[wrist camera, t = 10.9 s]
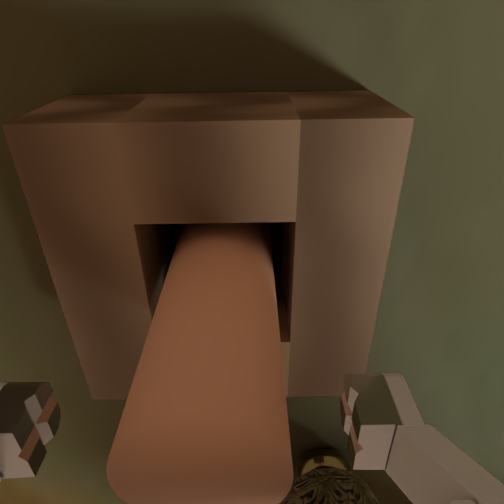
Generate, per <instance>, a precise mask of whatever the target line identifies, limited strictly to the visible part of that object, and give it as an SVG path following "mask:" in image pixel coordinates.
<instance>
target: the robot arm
mask: <svg viewBox="0 0 504 504" xmlns="http://www.w3.org/2000/svg"><path fill="white" fill-rule="evenodd" d="M343 388H344V393H343V394H342V395H341V400H340V412H341V420H342V425H343V429H344V431H345V432H346V433H347V434H348V435H349V437H348V444H347V447H348V451H349V455H350V459H351V463H352V467H353V470H386V471H385V472H386V473H387V474H388V475H389V476H390V477H391V479H392V480H393V481H394V482H395V483H396V485H397V486H398V487H399V488H400V489H401V490H402V492H403V493H404V494H405V495H406V496H407V498H408V499H409V500H410V501H411V502H412V503H413V504H504V485H503V484H502V483H501V482H499V481H498V480H497V479H496V478H495V477H493V476H492V475H491V474H490V473H489V472H487V471H486V470H485V469H484V468H482V467H481V466H480V465H479V464H478V463H476V462H475V461H474V460H473V459H471V458H470V457H469V456H468V455H467V454H465V453H464V452H463V451H462V450H461V449H459V448H458V447H457V446H456V445H454V444H453V443H452V442H451V441H450V440H448V439H447V438H446V437H445V436H443V435H442V434H441V433H440V432H439V431H437V430H436V429H435V428H434V427H433V426H431V425H425V424H424V422H423V420H422V418H421V415H420V413H419V411H418V409H417V406H416V404H415V402H414V400H413V397H412V395H411V393H410V391H409V388H408V386H407V384H406V382H405V379H404V377H403V375H402V374H401V373H381V374H380V373H369V374H345V375H344V377H343ZM52 391H53V390H52V388H51V386H50V384H49V383H48V382H0V483H1V482H2V481H3V479H4V478H23V477H36V474H37V472H38V470H39V468H40V466H41V464H42V462H43V460H44V457H45V455H46V453H47V452H46V448H45V444H46V443H48V442H49V441H50V440H51V439H52V438H53V437H54V436H55V434H56V431H57V429H58V426H59V421H60V407H59V405H58V402H57V401H55V400H54V399H53V398H51V397H50V395H51V393H52Z"/></svg>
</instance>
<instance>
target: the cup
mask: <svg viewBox="0 0 504 504" xmlns="http://www.w3.org/2000/svg"><path fill="white" fill-rule="evenodd" d="M297 474H298V477H299V478H297V479H296V480H295V481H294V482H293V483H292V486H291V489H290V491H289V493H288V494H287V496H286V497H285V498H284V501H283V504H379V502H378V500H377V498H376V496H375V494H374V493H373V491H372V490H371V488H370V487H369V486H368V485H367V484H366V483H365V482H364V481H363V480H362V479H361V478H360V477H358V476H357V475H355V474H354V473H352V472H350V466H349V464H348V462H347V460H346V459H345V458H344V456H343V455H342V454H341V453H339V452H337V451H335V450H332V449H316V450H313V451H310V452H308V453H307V454H305V455H304V456H303V457H302V458H301V460H300V462H299V465H298V469H297Z"/></svg>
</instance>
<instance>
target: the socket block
mask: <svg viewBox="0 0 504 504" xmlns="http://www.w3.org/2000/svg"><path fill="white" fill-rule="evenodd" d="M414 119H415V118H414V117H412V116H411V115H409V114H407V113H406V112H404V111H403V110H401V109H399V108H398V107H396V106H394V105H393V104H391V103H389V102H388V101H386V100H385V99H383V98H381V97H380V96H378V95H376V94H375V93H373V92H371V91H370V90H351V91H288V92H225V93H163V94H100V95H67V96H65V97H63V98H60V99H58V100H56V101H54V102H51V103H49V104H47V105H44V106H42V107H40V108H37V109H35V110H33V111H31V112H28V113H26V114H24V115H21V116H19V117H17V118H15V119H12V120H10V121H8V122H5V123H3V124H1V126H2V129H3V132H4V135H5V138H6V141H7V144H8V147H9V150H10V153H11V156H12V159H13V162H14V165H15V168H16V171H17V174H18V178H19V181H20V184H21V187H22V190H23V193H24V196H25V199H26V202H27V205H28V208H29V211H30V214H31V217H32V220H33V223H34V226H35V229H36V232H37V235H38V238H39V241H40V244H41V247H42V250H43V253H44V256H45V259H46V262H47V265H48V268H49V271H50V274H51V277H52V280H53V283H54V286H55V289H56V292H57V295H58V298H59V301H60V304H61V307H62V310H63V313H64V316H65V319H66V322H67V325H68V328H69V331H70V334H71V337H72V340H73V343H74V346H75V349H76V352H77V355H78V358H79V361H80V364H81V367H82V370H83V374H84V377H85V380H86V383H87V386H88V389H89V392H90V395H91V398H92V400H127V397H128V394H129V391H130V388H131V385H132V382H133V379H134V376H135V372H136V369H137V366H138V363H139V360H140V357H141V354H142V350H143V347H144V344H145V341H146V338H147V335H148V332H149V328H150V325H151V322H152V319H153V316H154V313H155V310H156V307H157V303H158V300H159V297H160V294H161V291H162V288H163V285H164V281H165V278H166V275H167V272H168V269H169V266H170V263H171V260H172V256H173V251H172V243H171V236H170V229H169V224H193V223H257V222H283V231H282V266H281V273H274V279H275V290H276V300H277V310H278V320H279V331H280V341H281V351H282V361H283V371H284V382H285V392H286V397H329V396H341V395H342V394H343V393H344V388H343V377H344V375H345V374H366V370H367V365H368V359H369V354H370V349H371V344H372V339H373V333H374V328H375V323H376V318H377V312H378V307H379V302H380V297H381V291H382V286H383V281H384V276H385V271H386V265H387V260H388V255H389V250H390V244H391V239H392V234H393V229H394V223H395V218H396V213H397V208H398V203H399V197H400V192H401V187H402V182H403V176H404V171H405V166H406V161H407V155H408V150H409V145H410V140H411V135H412V129H413V124H414Z"/></svg>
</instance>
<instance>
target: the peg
mask: <svg viewBox="0 0 504 504" xmlns="http://www.w3.org/2000/svg"><path fill="white" fill-rule="evenodd" d="M106 475H107V479H108V482H109V484H110V486H111V488H112V489H113V491H114V492H115V494H116V495H117V496H118V497H119V498H120V499H121V500H122V501H124V502H125V503H126V504H279V503H280V502H281V501H282V500H283V499H284V498H285V497H286V496H287V494H288V493H289V491H290V489H291V486H292V483H293V478H294V477H293V464H292V453H291V443H290V433H289V423H288V412H287V402H286V392H285V382H284V371H283V361H282V351H281V341H280V331H279V320H278V310H277V300H276V290H275V279H274V269H273V259H272V249H271V238H270V228H269V222H257V223H193V224H183V225H182V228H181V231H180V234H179V238H178V241H177V244H176V247H175V250H174V253H173V256H172V260H171V263H170V266H169V269H168V272H167V275H166V278H165V281H164V285H163V288H162V291H161V294H160V297H159V300H158V303H157V307H156V310H155V313H154V316H153V319H152V322H151V325H150V328H149V332H148V335H147V338H146V341H145V344H144V347H143V350H142V354H141V357H140V360H139V363H138V366H137V369H136V372H135V376H134V379H133V382H132V385H131V388H130V391H129V394H128V397H127V401H126V404H125V407H124V410H123V413H122V416H121V419H120V423H119V426H118V429H117V432H116V435H115V438H114V441H113V445H112V448H111V451H110V454H109V457H108V460H107V465H106Z"/></svg>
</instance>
